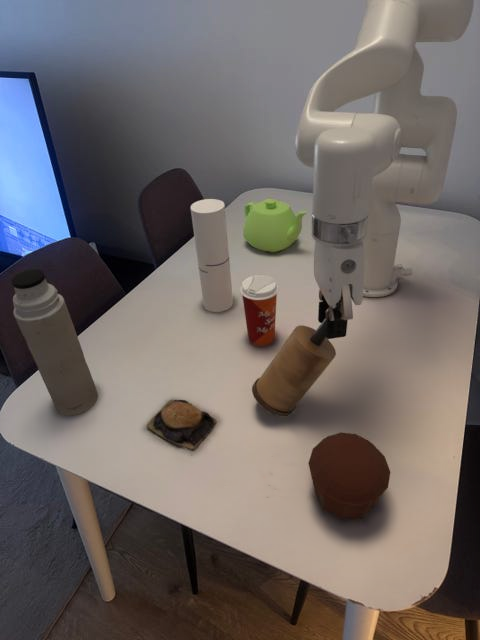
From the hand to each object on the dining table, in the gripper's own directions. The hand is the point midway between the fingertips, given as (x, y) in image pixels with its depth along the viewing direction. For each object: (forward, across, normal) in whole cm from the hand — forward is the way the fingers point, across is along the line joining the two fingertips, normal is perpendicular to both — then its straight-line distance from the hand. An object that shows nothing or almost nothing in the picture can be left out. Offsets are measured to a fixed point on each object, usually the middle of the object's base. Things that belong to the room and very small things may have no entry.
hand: (331, 327), depth 75 cm
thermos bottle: (+17, +9, +47) cm, 50 cm away
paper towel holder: (+14, 0, +10) cm, 17 cm away
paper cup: (+17, +20, +8) cm, 28 cm away
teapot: (+17, +61, -3) cm, 63 cm away
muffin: (+17, -19, +3) cm, 26 cm away
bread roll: (+17, -1, +27) cm, 32 cm away
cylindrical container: (+17, +35, +16) cm, 42 cm away
